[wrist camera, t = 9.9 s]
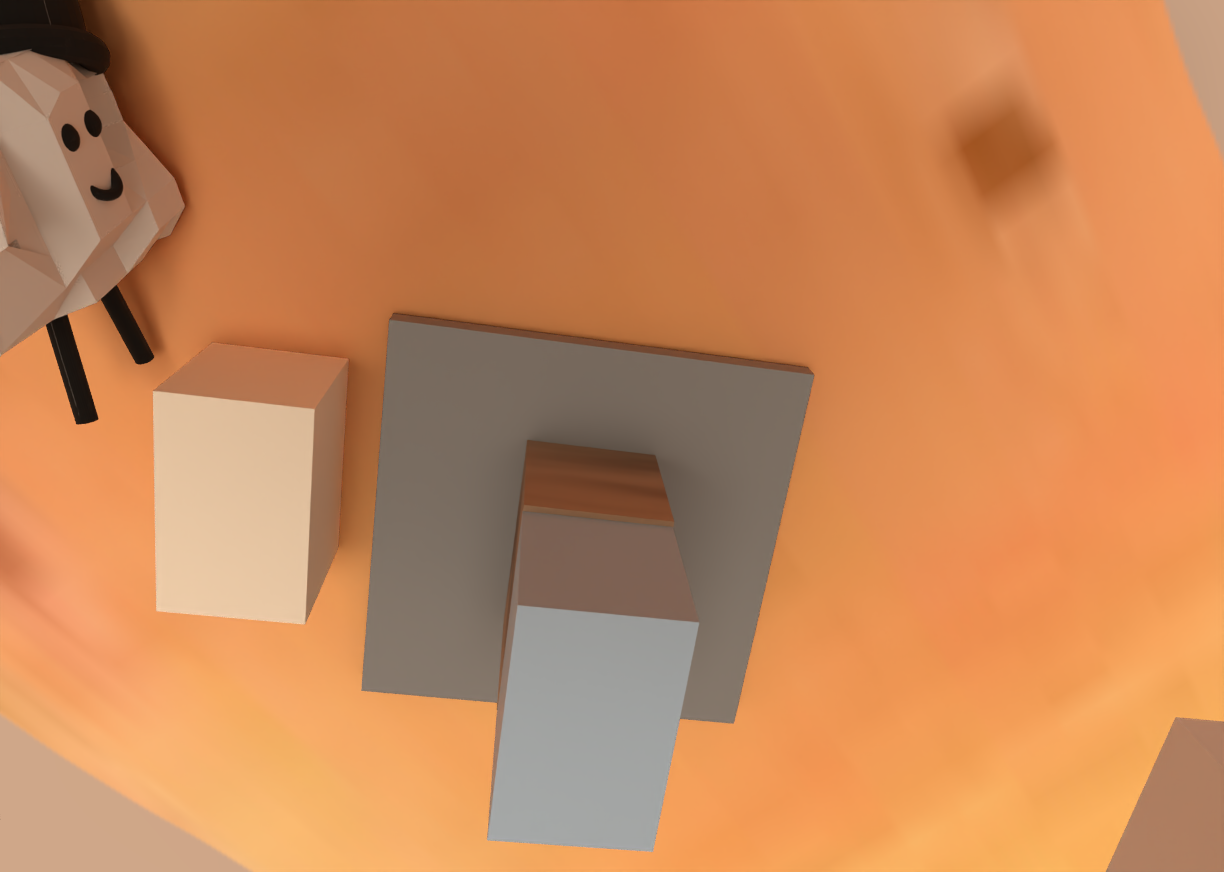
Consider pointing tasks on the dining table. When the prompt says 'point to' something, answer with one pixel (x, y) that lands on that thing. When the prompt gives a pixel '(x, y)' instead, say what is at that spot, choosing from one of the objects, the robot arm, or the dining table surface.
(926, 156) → the dining table surface
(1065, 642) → the dining table surface
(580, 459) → the brick base
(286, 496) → the brick
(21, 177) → the toy
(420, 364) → the build board
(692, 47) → the dining table surface
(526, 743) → the brick top
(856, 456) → the dining table surface
